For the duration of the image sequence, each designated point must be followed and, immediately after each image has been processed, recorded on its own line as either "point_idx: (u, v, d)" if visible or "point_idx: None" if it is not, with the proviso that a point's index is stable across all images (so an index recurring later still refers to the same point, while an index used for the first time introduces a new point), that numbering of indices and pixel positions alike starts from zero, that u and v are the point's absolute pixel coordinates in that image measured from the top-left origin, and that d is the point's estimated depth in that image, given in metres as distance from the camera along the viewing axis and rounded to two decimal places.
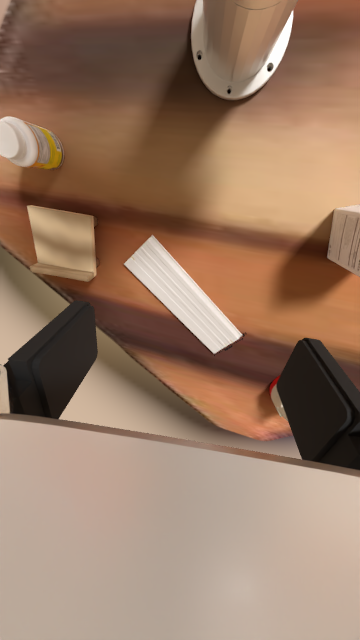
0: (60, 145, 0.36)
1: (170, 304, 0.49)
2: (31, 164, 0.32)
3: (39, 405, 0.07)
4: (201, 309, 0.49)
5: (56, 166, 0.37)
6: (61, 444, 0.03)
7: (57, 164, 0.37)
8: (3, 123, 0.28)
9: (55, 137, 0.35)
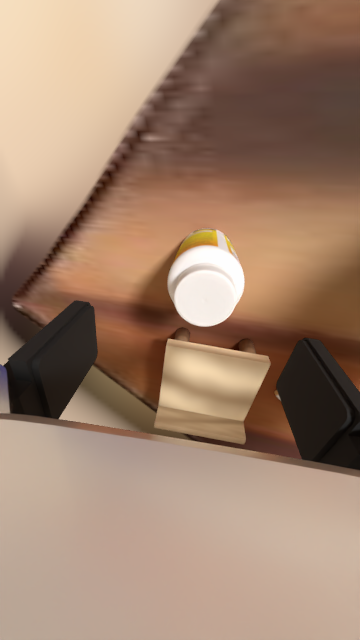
0: None
1: None
2: None
3: (39, 405, 0.07)
4: None
5: None
6: (61, 444, 0.03)
7: None
8: (218, 277, 0.13)
9: (231, 244, 0.20)
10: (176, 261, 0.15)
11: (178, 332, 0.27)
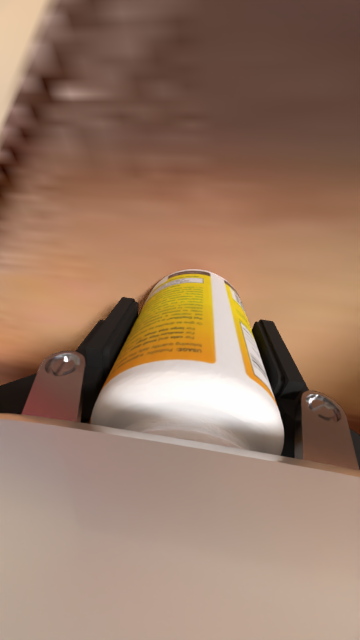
0: None
1: None
2: None
3: None
4: None
5: None
6: (61, 444, 0.03)
7: None
8: None
9: (239, 299, 0.11)
10: (103, 398, 0.06)
11: None
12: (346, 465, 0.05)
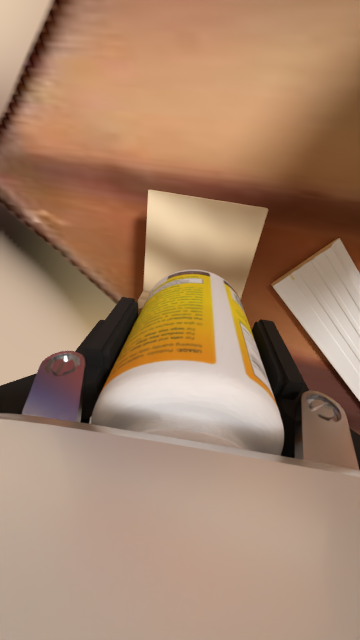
0: None
1: (329, 346, 0.31)
2: None
3: None
4: None
5: None
6: (61, 444, 0.03)
7: None
8: None
9: (239, 299, 0.11)
10: (104, 398, 0.06)
11: None
12: (346, 465, 0.05)
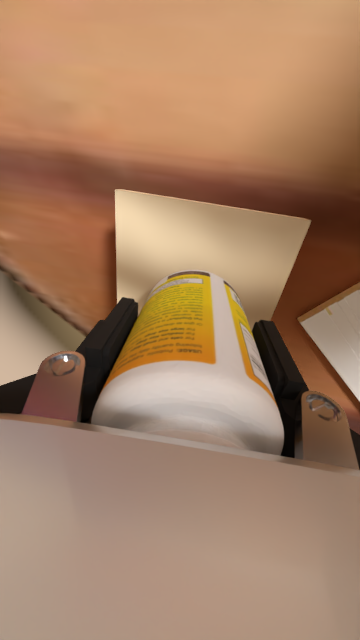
0: None
1: None
2: None
3: None
4: None
5: None
6: (61, 444, 0.03)
7: None
8: None
9: (239, 300, 0.11)
10: (104, 398, 0.06)
11: None
12: (346, 465, 0.05)
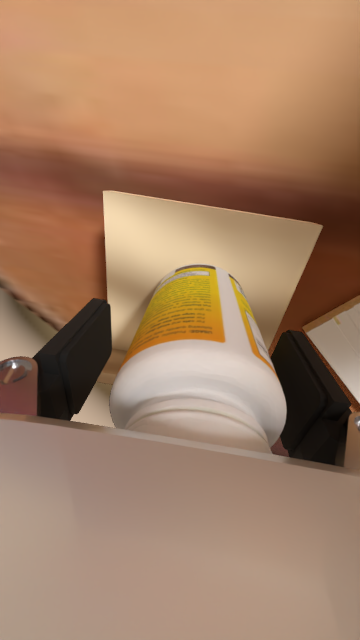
0: None
1: None
2: None
3: (64, 397, 0.07)
4: None
5: None
6: (61, 444, 0.03)
7: None
8: None
9: (243, 292, 0.12)
10: (123, 374, 0.06)
11: None
12: None
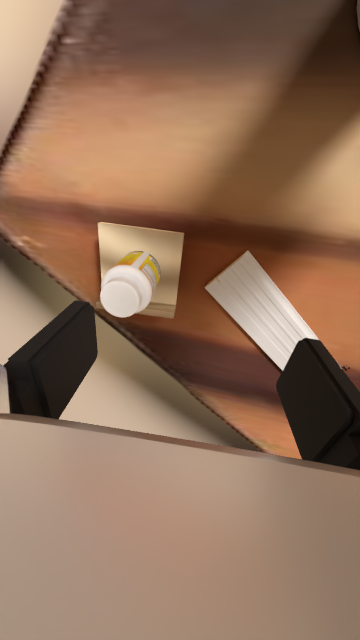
0: (159, 268, 0.29)
1: (257, 335, 0.39)
2: (139, 311, 0.25)
3: (39, 405, 0.07)
4: (297, 340, 0.39)
5: None
6: (61, 444, 0.03)
7: None
8: (124, 285, 0.21)
9: (155, 261, 0.28)
10: (104, 275, 0.23)
11: None
12: None
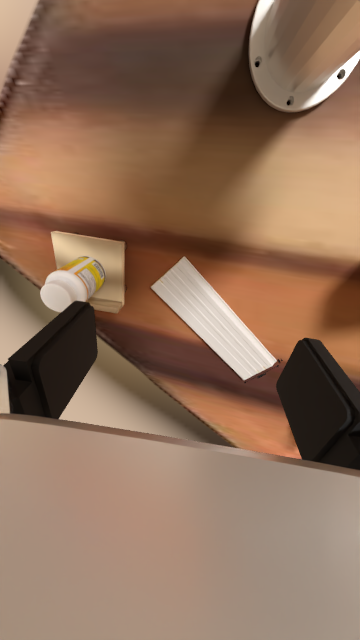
0: (103, 271, 0.35)
1: (199, 329, 0.45)
2: None
3: (39, 405, 0.07)
4: (234, 335, 0.45)
5: None
6: (61, 444, 0.03)
7: None
8: (57, 287, 0.27)
9: (99, 265, 0.34)
10: None
11: None
12: None
